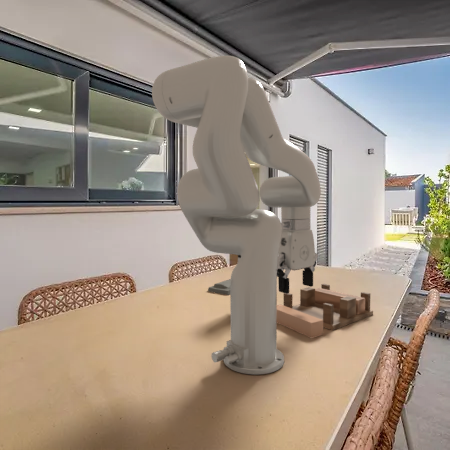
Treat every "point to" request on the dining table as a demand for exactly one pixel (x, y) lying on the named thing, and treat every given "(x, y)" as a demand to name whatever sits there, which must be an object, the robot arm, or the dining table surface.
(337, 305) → the rack
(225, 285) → the soap mold
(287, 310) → the slat
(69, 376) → the dining table surface
